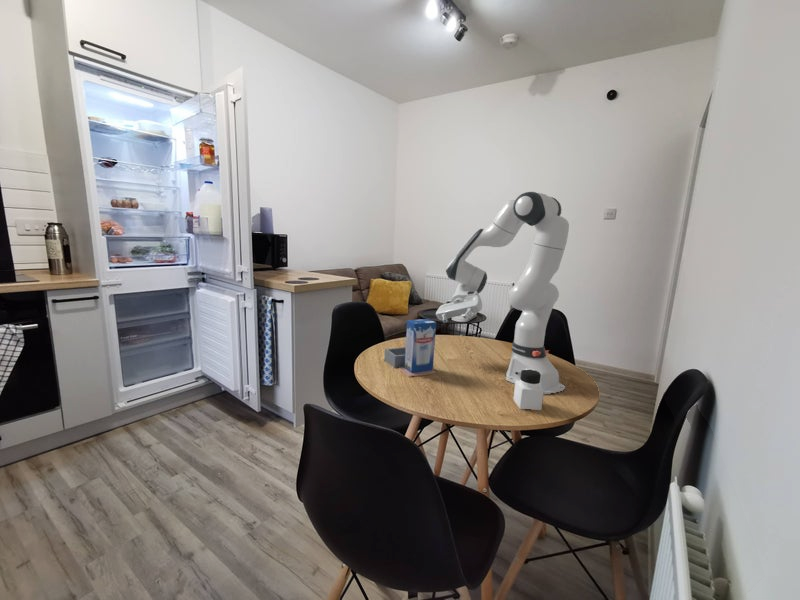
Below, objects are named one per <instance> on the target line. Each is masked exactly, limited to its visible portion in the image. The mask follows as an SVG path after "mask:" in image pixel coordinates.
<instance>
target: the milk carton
mask: <svg viewBox="0 0 800 600" xmlns="http://www.w3.org/2000/svg"><path fill="white" fill-rule="evenodd" d="M436 330H437V321H435V320H431V319H429V318H422V319H420V318H419V319H407V320H406V331H405V333H406V334H405V346H404V347H405V365H404V368H405V369H406V370H408V371H409V372H411V373H418V372H425V371H431V370H433V371H434V361H435V360H434V357H435V345H436V334H437V333H436V332H437V331H436Z"/></svg>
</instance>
